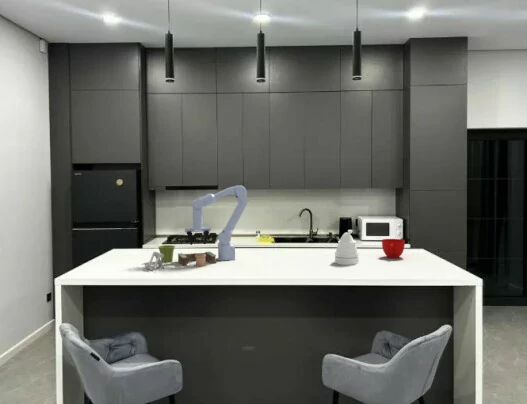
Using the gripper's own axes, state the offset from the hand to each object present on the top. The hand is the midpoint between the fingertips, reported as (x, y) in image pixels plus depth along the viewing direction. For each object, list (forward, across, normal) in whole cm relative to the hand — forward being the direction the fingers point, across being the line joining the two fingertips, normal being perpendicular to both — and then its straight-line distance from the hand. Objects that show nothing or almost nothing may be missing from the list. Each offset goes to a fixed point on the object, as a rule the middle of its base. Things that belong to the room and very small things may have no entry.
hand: (197, 244), depth 257 cm
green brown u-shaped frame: (+9, +2, +6) cm, 11 cm away
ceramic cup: (+10, -108, +34) cm, 114 cm away
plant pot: (+10, +17, -4) cm, 20 cm away
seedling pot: (+9, +2, +16) cm, 19 cm away
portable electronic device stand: (+10, +26, +15) cm, 32 cm away
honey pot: (+10, -75, +37) cm, 84 cm away
